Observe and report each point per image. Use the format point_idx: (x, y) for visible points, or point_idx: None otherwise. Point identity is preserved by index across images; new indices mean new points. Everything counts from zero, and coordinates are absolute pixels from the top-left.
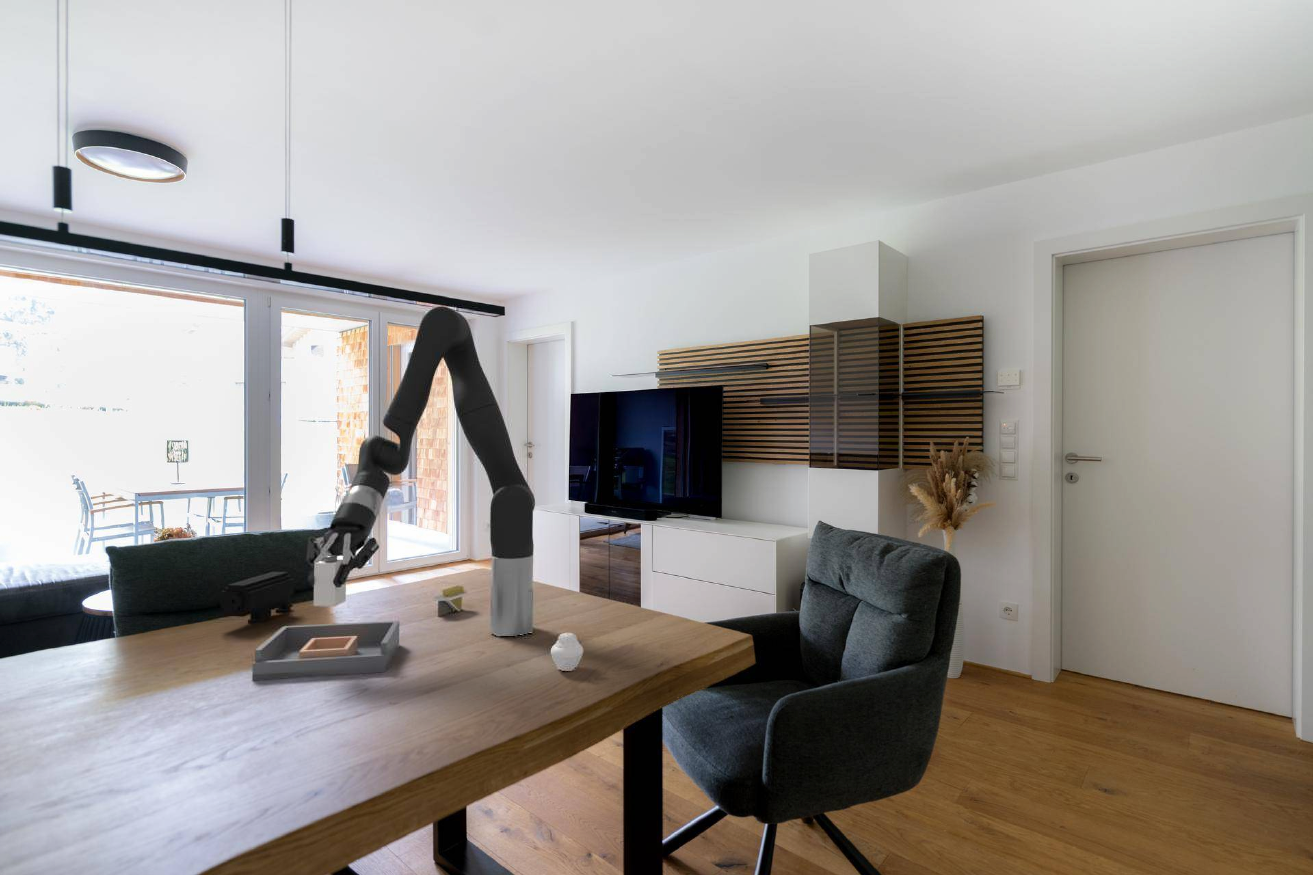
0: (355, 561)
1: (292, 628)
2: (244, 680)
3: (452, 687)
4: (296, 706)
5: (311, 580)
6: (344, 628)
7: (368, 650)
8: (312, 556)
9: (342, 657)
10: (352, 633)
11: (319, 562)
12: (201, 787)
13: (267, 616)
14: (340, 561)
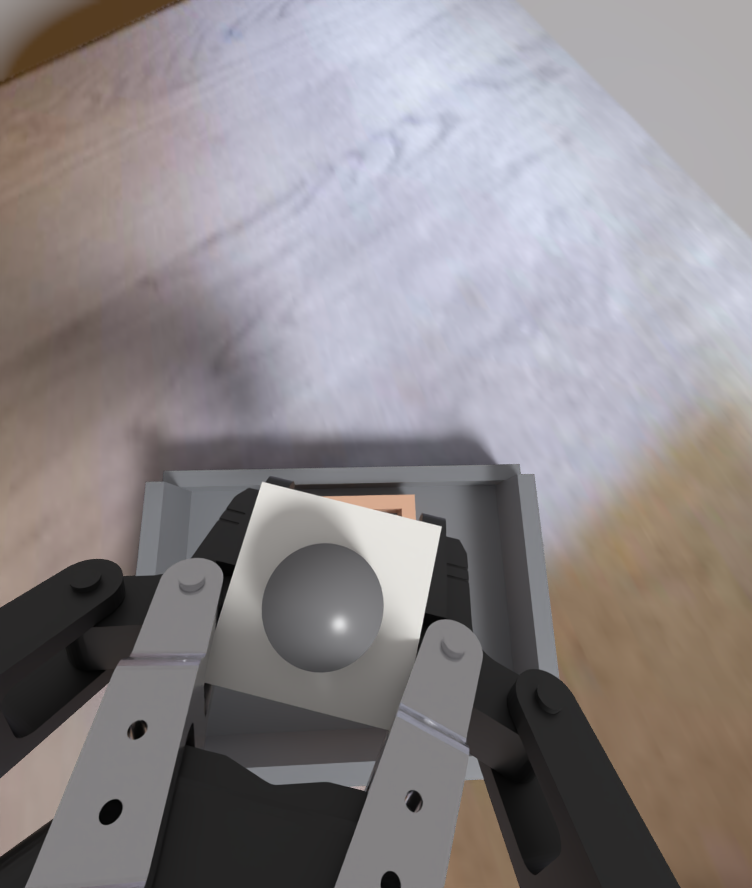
0: (101, 561)
1: None
2: None
3: (16, 344)
4: (344, 302)
5: (430, 515)
6: (334, 755)
7: None
8: (529, 714)
9: (286, 473)
10: (307, 748)
11: (410, 560)
12: (384, 71)
13: None
14: (239, 591)
